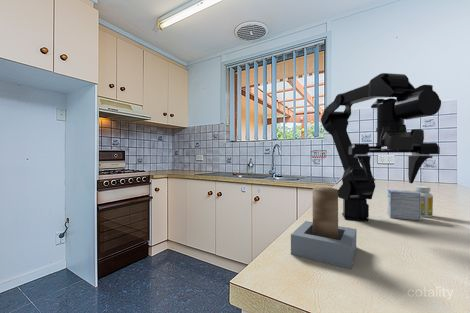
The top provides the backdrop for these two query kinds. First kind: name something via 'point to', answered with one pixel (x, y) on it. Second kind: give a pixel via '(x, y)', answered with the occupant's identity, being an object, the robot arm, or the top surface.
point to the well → (324, 245)
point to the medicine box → (404, 204)
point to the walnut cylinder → (325, 212)
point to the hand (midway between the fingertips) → (389, 182)
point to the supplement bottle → (425, 201)
